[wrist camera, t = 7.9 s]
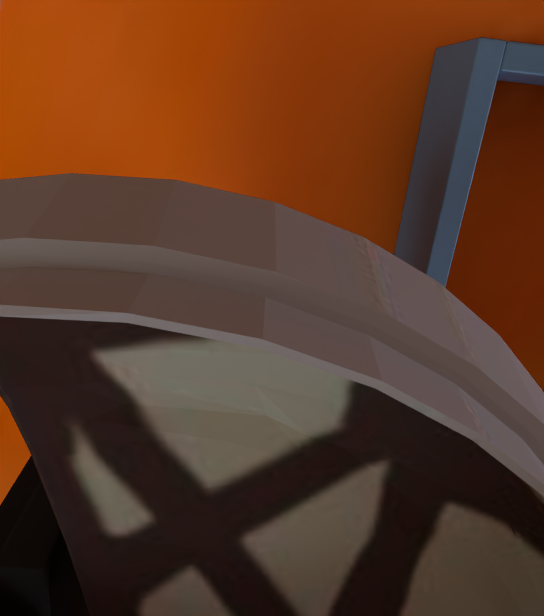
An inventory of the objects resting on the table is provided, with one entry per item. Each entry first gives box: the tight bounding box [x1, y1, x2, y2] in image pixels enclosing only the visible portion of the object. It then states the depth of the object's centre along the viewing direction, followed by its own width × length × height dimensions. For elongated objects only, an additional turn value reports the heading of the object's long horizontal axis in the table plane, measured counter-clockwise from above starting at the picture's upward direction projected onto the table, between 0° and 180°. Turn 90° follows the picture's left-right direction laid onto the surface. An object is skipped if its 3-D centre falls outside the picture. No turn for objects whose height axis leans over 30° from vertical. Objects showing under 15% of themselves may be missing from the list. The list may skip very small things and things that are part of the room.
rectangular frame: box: [394, 37, 544, 287], centre depth 20 cm, size 11×17×4 cm, turn 174°
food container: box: [0, 173, 544, 616], centre depth 10 cm, size 12×6×10 cm, turn 9°
